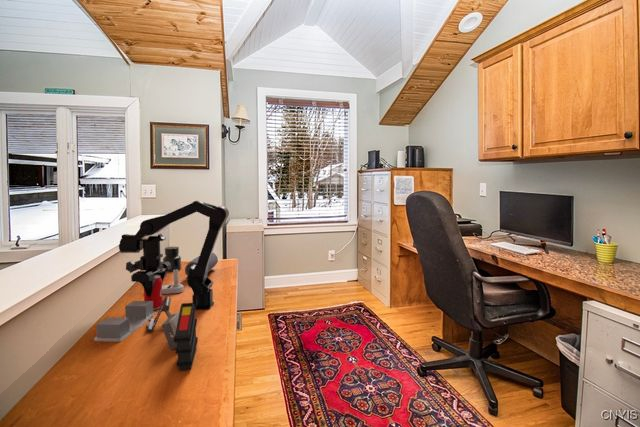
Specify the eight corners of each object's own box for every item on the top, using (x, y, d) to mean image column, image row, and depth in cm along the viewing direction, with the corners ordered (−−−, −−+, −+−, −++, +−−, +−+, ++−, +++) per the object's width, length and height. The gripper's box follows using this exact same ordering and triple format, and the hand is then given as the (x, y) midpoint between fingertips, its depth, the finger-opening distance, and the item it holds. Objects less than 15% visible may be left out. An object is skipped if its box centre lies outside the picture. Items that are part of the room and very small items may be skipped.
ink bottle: (166, 267, 186) (165, 246, 185) (182, 267, 188) (182, 245, 187) (161, 272, 177) (160, 249, 175) (179, 271, 178) (178, 249, 177)
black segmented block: (199, 338, 99) (195, 301, 92) (194, 380, 88) (189, 341, 81) (185, 339, 98) (180, 302, 91) (178, 382, 87) (172, 343, 80)
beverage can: (165, 304, 131) (164, 274, 129) (158, 310, 124) (157, 279, 123) (149, 304, 130) (148, 274, 129) (141, 310, 124) (140, 279, 123)
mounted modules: (153, 311, 121) (152, 301, 120) (120, 337, 101) (119, 324, 101) (133, 311, 121) (133, 300, 120) (96, 337, 101) (96, 324, 101)
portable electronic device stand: (149, 322, 115) (148, 298, 114) (174, 319, 117) (174, 295, 117) (146, 333, 106) (145, 307, 106) (173, 329, 109) (173, 304, 108)
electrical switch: (182, 351, 95) (178, 319, 94) (164, 353, 95) (159, 321, 94) (193, 336, 105) (189, 307, 104) (176, 338, 104) (172, 309, 103)
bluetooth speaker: (202, 269, 184) (201, 250, 183) (218, 269, 184) (218, 251, 183) (183, 281, 162) (183, 260, 161) (202, 281, 161) (202, 261, 160)
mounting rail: (155, 314, 121) (155, 311, 121) (121, 341, 100) (121, 338, 100) (133, 313, 121) (133, 311, 121) (94, 341, 100) (94, 338, 100)
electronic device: (147, 270, 146) (183, 268, 148) (148, 292, 147) (185, 289, 149) (142, 273, 141) (180, 271, 143) (144, 296, 142) (182, 293, 144)
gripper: (143, 247, 135) (144, 285, 136) (114, 258, 116) (117, 302, 118) (171, 247, 135) (172, 286, 136) (147, 258, 116) (149, 302, 118)
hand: (153, 293), depth 127 cm, fingers closed on beverage can, 6 cm apart
